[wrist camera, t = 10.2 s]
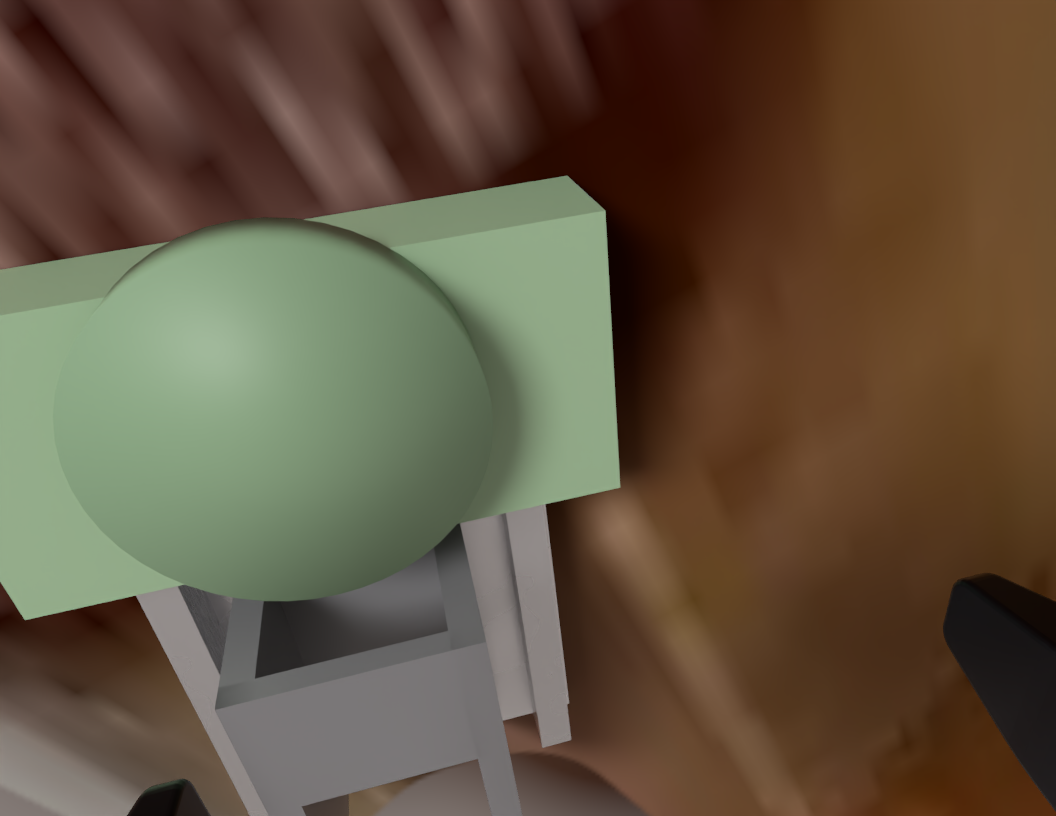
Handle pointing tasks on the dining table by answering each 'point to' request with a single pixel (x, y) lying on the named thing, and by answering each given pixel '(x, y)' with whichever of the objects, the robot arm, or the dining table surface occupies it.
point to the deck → (465, 245)
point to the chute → (365, 689)
